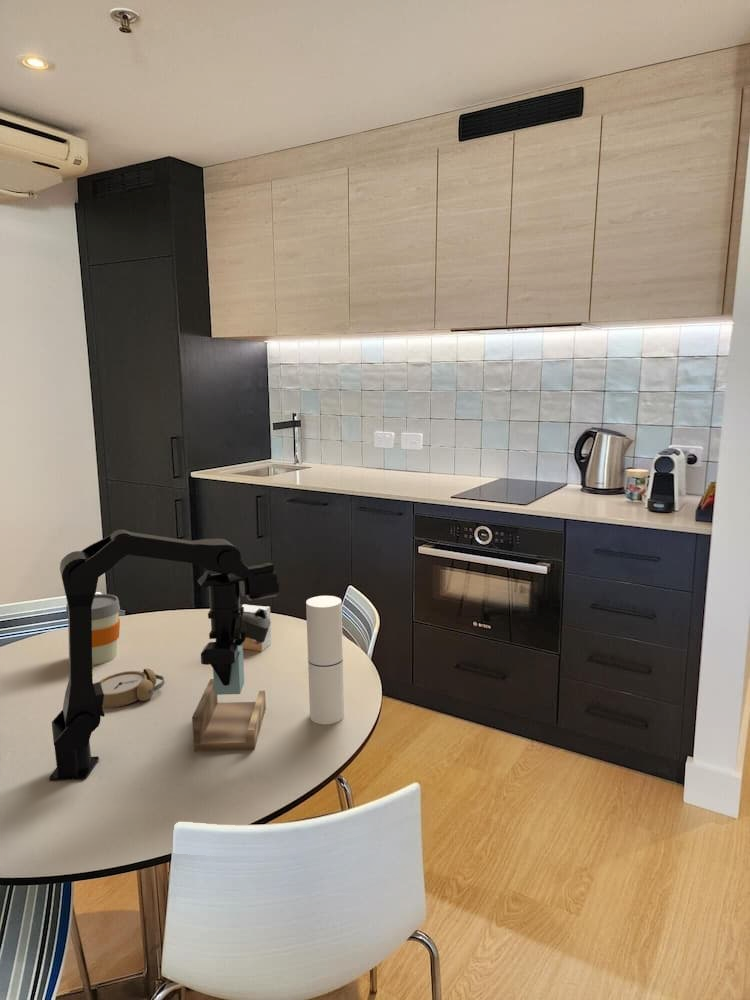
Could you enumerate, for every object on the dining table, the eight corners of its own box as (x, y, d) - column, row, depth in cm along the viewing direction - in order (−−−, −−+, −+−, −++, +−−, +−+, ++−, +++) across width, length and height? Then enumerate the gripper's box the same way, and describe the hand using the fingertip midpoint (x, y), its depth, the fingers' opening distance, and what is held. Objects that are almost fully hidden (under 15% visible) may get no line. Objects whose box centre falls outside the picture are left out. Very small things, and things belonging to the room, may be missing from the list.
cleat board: (254, 749, 123) (253, 715, 122) (194, 751, 123) (192, 717, 122) (265, 707, 139) (264, 677, 138) (212, 709, 139) (210, 678, 138)
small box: (234, 648, 171) (232, 610, 169) (245, 640, 176) (243, 603, 174) (262, 651, 169) (260, 613, 167) (272, 643, 174) (270, 606, 172)
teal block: (240, 694, 127) (238, 655, 126) (214, 694, 127) (212, 656, 126) (244, 682, 132) (242, 645, 131) (219, 683, 132) (217, 645, 131)
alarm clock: (98, 676, 150) (163, 659, 152) (103, 695, 151) (169, 678, 153) (86, 699, 139) (158, 680, 141) (93, 719, 140) (163, 700, 142)
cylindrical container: (313, 726, 131) (309, 608, 127) (307, 709, 138) (303, 597, 134) (347, 721, 133) (344, 605, 129) (340, 705, 140) (337, 594, 136)
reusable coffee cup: (130, 647, 173) (126, 593, 170) (113, 667, 160) (108, 609, 158) (83, 648, 172) (77, 594, 170) (62, 668, 160) (56, 610, 157)
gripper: (259, 620, 118) (263, 700, 120) (272, 588, 136) (275, 658, 139) (197, 621, 117) (202, 702, 120) (218, 589, 136) (222, 659, 138)
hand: (229, 679), depth 129 cm, fingers closed on teal block, 5 cm apart
